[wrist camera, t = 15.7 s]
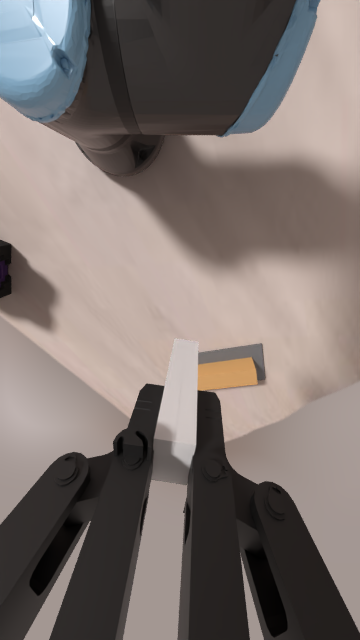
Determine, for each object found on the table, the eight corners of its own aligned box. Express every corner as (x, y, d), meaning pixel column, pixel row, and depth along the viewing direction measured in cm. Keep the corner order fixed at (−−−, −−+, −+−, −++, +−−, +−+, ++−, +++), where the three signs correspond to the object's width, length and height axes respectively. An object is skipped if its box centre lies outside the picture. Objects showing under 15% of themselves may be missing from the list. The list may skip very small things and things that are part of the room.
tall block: (191, 391, 52) (257, 384, 49) (187, 378, 51) (255, 369, 48) (191, 379, 56) (253, 371, 53) (188, 365, 55) (251, 357, 52)
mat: (196, 386, 58) (196, 387, 58) (187, 354, 53) (187, 355, 53) (264, 378, 55) (265, 379, 54) (261, 343, 50) (261, 344, 50)
